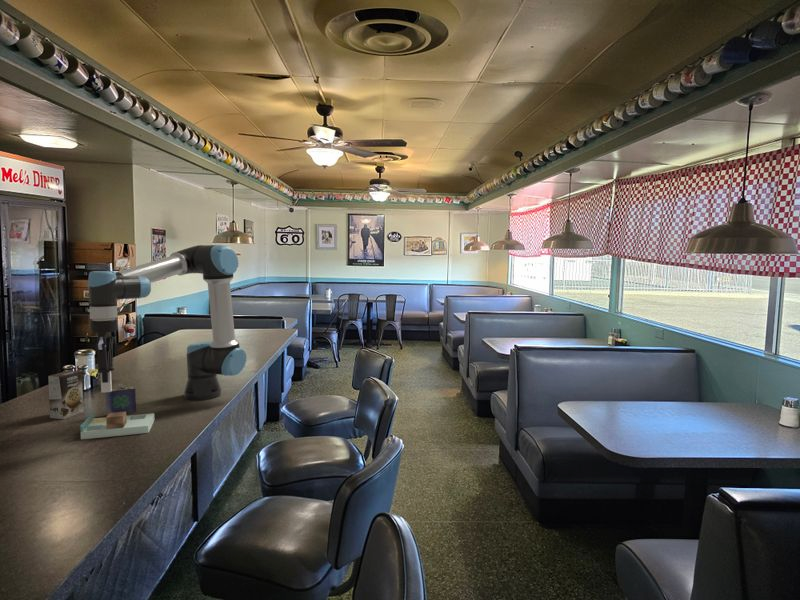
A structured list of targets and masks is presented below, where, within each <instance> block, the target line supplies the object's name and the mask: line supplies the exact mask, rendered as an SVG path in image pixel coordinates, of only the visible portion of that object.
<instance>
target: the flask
mask: <svg viewBox="0 0 800 600" xmlns="http://www.w3.org/2000/svg"><path fill="white" fill-rule="evenodd" d="M136 394H137V393H136V388H135V386H134V387H133V386H128V387H127V386H124V385H123V383H118V385H117V388H115V389H113V388H112V391H111V392H105V403H106V417H107V416H108V414H109V413H115V412H126V415H127V414H134V413H137V400H136V399H137V395H136Z"/></svg>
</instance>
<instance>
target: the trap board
mask: <svg viewBox="0 0 800 600" xmlns="http://www.w3.org/2000/svg"><path fill="white" fill-rule="evenodd" d="M155 420H156V419H155V413H153V412H152V413H142V414H132V415H130V414H129V415H126V421H127V423H126V425H125V426H124V428H114V429H107V424H106V417H97V418H95V413H94V412H91V413H90V415H89V416H88V417H87V418H86V419H85V421H83V422H82V423H81V424H80V426H79V427H80V440H91V439H97V438H98V439H99V438H109V437H120V436H129V435H139V434H141V435H142V434H149V433H150V431H151V428H152V427H153V424H154V423H155Z"/></svg>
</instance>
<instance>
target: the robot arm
mask: <svg viewBox="0 0 800 600" xmlns="http://www.w3.org/2000/svg"><path fill="white" fill-rule="evenodd" d="M238 267H239V258H238V255H237V252H236V251H235V250H234V249H233V248H232V247H230V246H228V245H222V244H210V245H208V244H207V245H206V244H203V245H201V244H200V245H199V244H198V245H194V246H191V247H187V248H183V249H181V250H178V251H174V252H172V253H171V254H170V255H169V256H167V257H163V258H159V259H156V260H153V261H150V262H146V263H143V264H139V265H136V266H135V265H134V266H132V267H129V268H126V269H123V270H118V271H113V270H93V271H90V272H89V273H88V280H87V289H88V299H89V300H88V303H89V309H87V312H88V313H89V318H90V319H91V320H90V322H89V329H90V333H94V334H95V333H96V334H97V337H96V339H95V341H96V342H95V344H94V346H95V351H96V357H97V367H98V370H97V374H100V388H101V389H100V391H101V392H100V393H106V392H111V391H112V390H113V387H112V385H113V384H112V371H114V370H115V368H114V367H113V361H114V360H113V355H114V354H113V353H114V340H115V339H114V337H113V336H112V333H113V332H117V331H118V329H119V327H118V325H119V324H118V320H117V318H118V305H117V304H118V300H119V301H120V300H133V299H134V300H135V299H143V298H146V297H149V296H150V294H151V291H152V283H155V282H159V281H161V280H164V279H167V278H171V277H173V276H176V275H177V276H183V275H189V274H201V275H202V279H203V281H204V282H206V283H207V289H208V290H207V291H208V299H209V309H210V321H211V323H210V324H211V332H212V340H211V341H203V342H197V343H192V344H189V345H188V346H187V347H186V365H187V366H186V367H187V368H186V371H187V381H186V384H185V386H184V389H183V398H184V399H185V400H189V401H202V400H204V401H205V400H210V399H215V398H217V397H220V396H221V395H222V387H221V384H220V382H219V381H220V380H218V379H219V378H218V377H217V375H220V376H225V377H228V376H229V377H230V376H231V377H235V376H237V375H239V374H240V373H241V372H242V371H243V370H244V368H245V367H246V363H247V360H248V359H247V358H248V357H247V353H246V351H245V350H244V349H243V348H241V347H240V341H239V340H238V339H237V338H236V335H235V325H234V323H235V322H234V314H233V313H234V311H233V301H232V300H233V299H232V291H231V290H232V289H231V281H232V280H233V279H234V273H236V272H237V270H238Z"/></svg>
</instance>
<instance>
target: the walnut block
mask: <svg viewBox="0 0 800 600" xmlns="http://www.w3.org/2000/svg"><path fill="white" fill-rule="evenodd" d="M126 416H127V414H126V412H115V413H109V414H108V416H107V415H106V417H105V418H106V424H107V429H114V428H124V426H125V425H126V423H127V421H126Z"/></svg>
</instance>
